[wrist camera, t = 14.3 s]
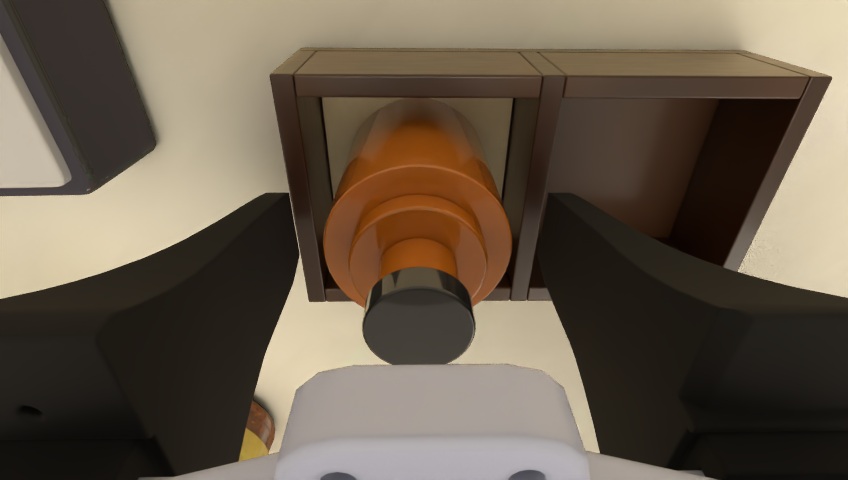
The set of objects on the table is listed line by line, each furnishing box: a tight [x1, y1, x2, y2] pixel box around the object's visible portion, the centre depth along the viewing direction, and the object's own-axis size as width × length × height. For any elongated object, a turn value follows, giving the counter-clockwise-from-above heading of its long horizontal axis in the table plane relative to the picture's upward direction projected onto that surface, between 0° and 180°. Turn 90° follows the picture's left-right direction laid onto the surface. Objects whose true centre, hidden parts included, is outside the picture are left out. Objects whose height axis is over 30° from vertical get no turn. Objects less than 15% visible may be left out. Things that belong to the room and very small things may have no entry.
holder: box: [270, 48, 832, 302], centre depth 15 cm, size 15×8×4 cm, turn 89°
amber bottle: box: [323, 98, 512, 365], centre depth 12 cm, size 5×5×8 cm
